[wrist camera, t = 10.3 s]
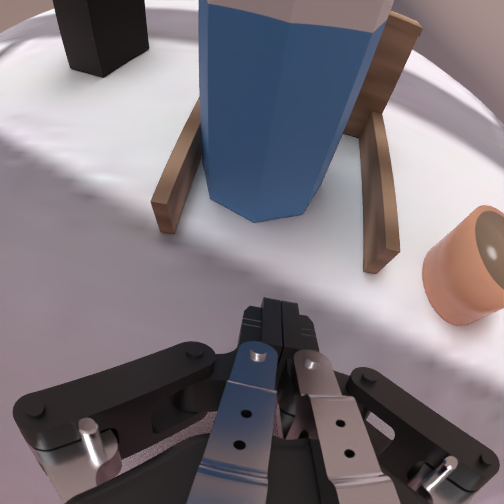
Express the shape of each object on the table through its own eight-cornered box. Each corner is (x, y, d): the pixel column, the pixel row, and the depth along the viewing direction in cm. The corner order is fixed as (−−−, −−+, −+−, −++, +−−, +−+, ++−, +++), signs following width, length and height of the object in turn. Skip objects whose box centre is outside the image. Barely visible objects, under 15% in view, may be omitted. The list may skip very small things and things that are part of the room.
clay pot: (461, 344, 18) (518, 322, 13) (407, 278, 20) (456, 239, 15) (491, 286, 21) (538, 257, 15) (444, 229, 23) (486, 189, 17)
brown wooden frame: (376, 273, 20) (496, 150, 9) (160, 231, 20) (113, 60, 9) (367, 132, 27) (417, 21, 15) (213, 99, 27) (217, -25, 15)
